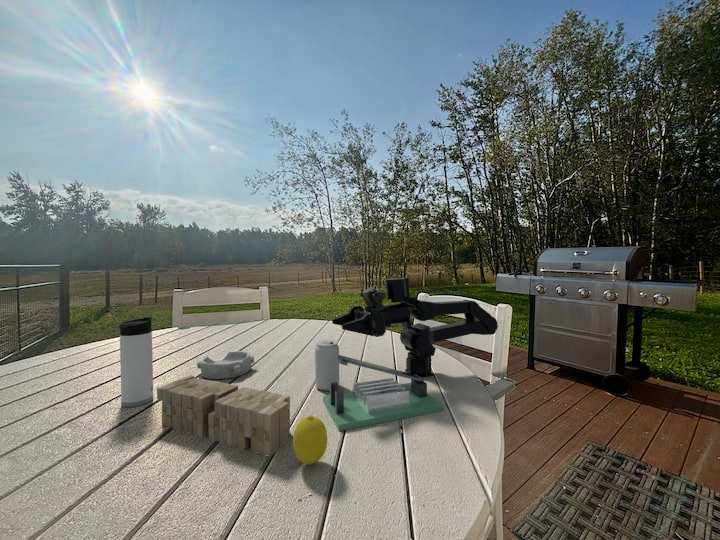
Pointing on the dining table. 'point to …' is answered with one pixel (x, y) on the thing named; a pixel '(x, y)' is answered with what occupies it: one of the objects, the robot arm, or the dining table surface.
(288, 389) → the dining table surface
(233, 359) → the dish
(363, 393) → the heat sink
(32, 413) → the dining table surface
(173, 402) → the block tower
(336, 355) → the beverage can
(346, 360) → the strap
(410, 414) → the circuit board
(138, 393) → the travel mug
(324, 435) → the lemon
